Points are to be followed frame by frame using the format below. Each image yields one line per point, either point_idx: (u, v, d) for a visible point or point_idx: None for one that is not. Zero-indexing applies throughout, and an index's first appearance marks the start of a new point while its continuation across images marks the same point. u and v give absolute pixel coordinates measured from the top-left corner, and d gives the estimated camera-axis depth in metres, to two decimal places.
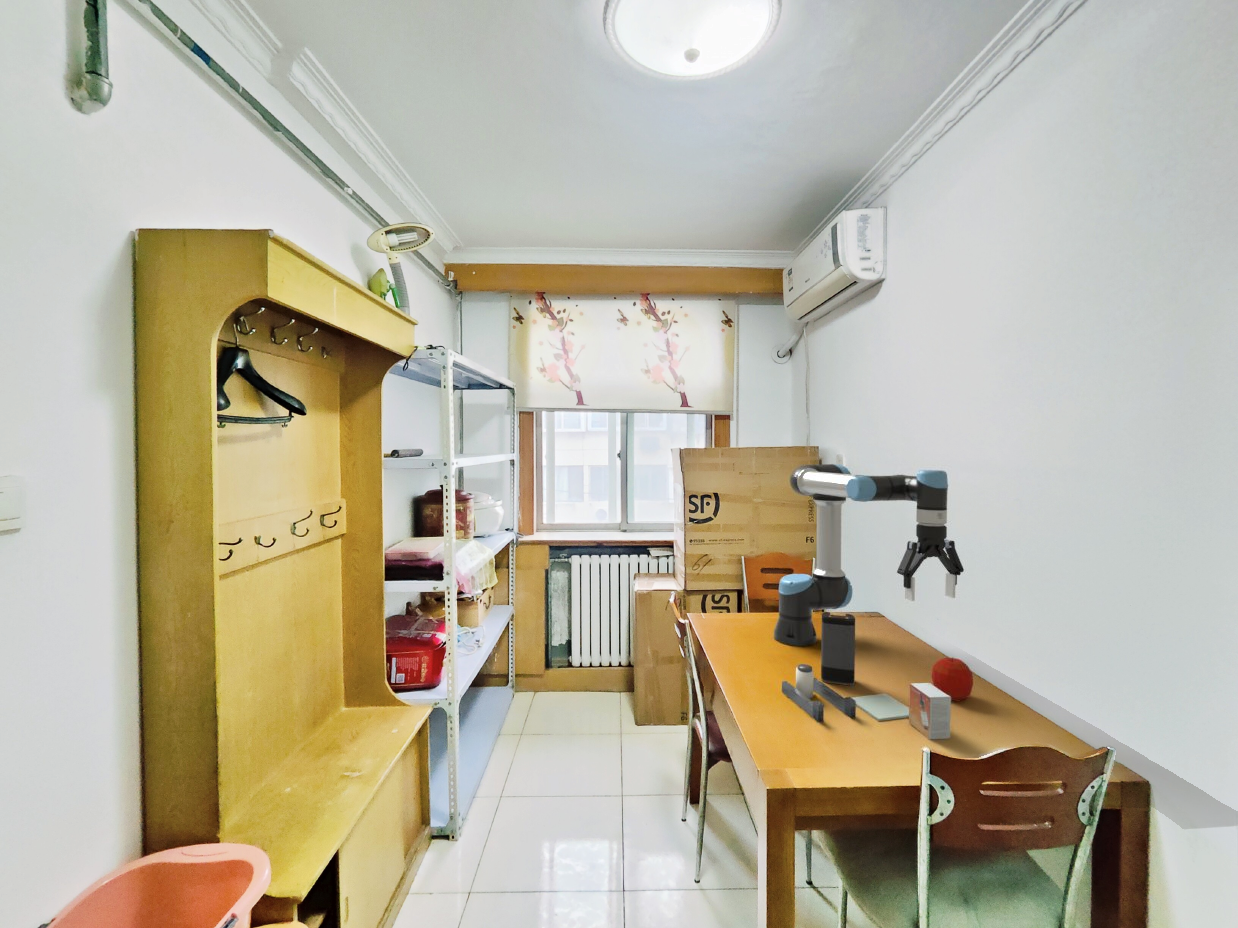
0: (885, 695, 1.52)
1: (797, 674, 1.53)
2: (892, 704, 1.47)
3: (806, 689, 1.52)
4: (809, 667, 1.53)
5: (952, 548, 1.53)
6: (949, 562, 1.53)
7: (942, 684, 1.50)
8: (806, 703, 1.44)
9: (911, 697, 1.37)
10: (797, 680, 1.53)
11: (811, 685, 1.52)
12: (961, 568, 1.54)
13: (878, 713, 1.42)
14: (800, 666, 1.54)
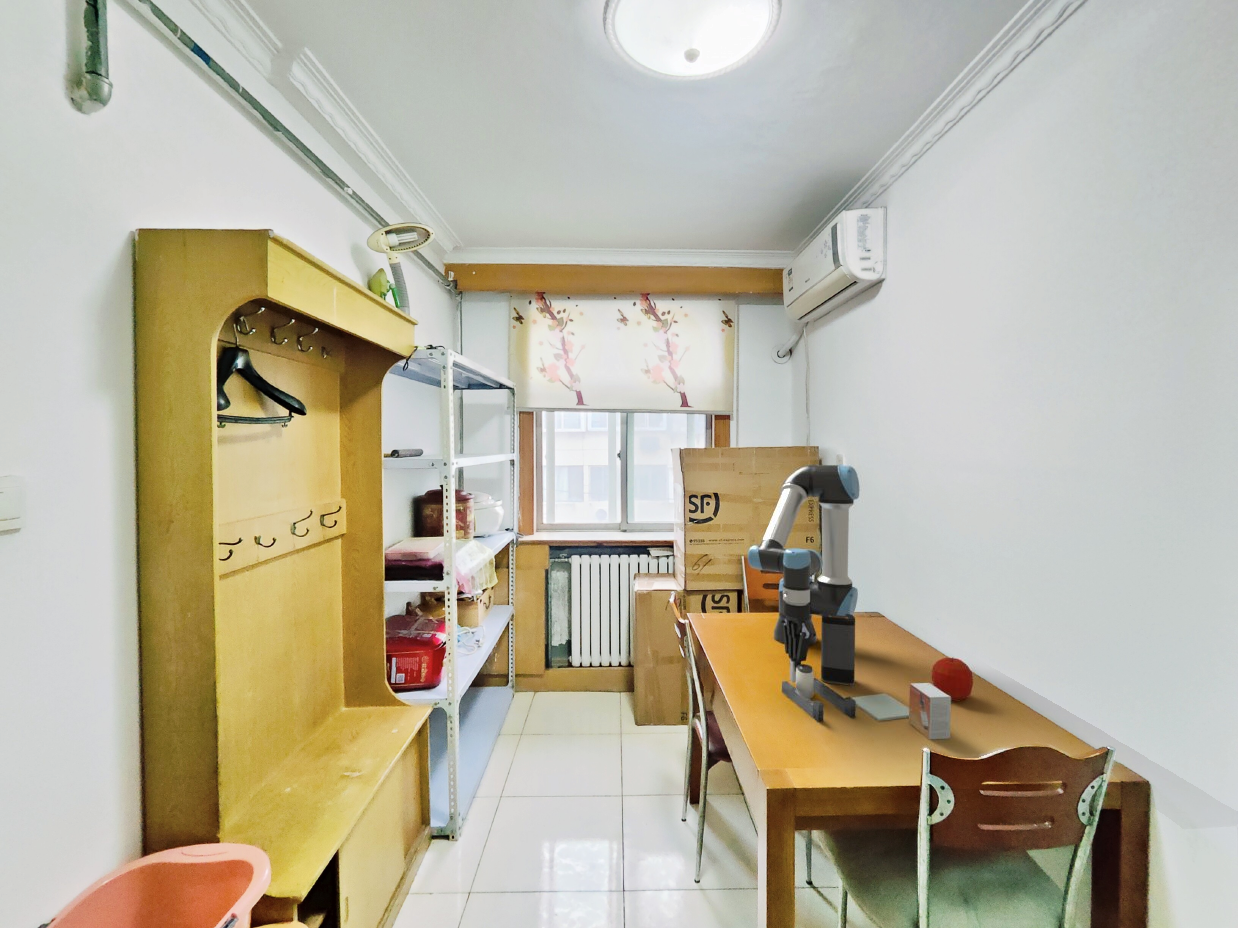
0: (885, 695, 1.52)
1: (797, 675, 1.53)
2: (892, 704, 1.47)
3: (806, 689, 1.52)
4: (809, 667, 1.53)
5: (800, 636, 1.53)
6: (794, 645, 1.57)
7: (942, 684, 1.50)
8: (806, 703, 1.44)
9: (911, 697, 1.37)
10: (797, 680, 1.53)
11: (811, 685, 1.52)
12: (797, 657, 1.55)
13: (878, 713, 1.42)
14: (800, 666, 1.54)
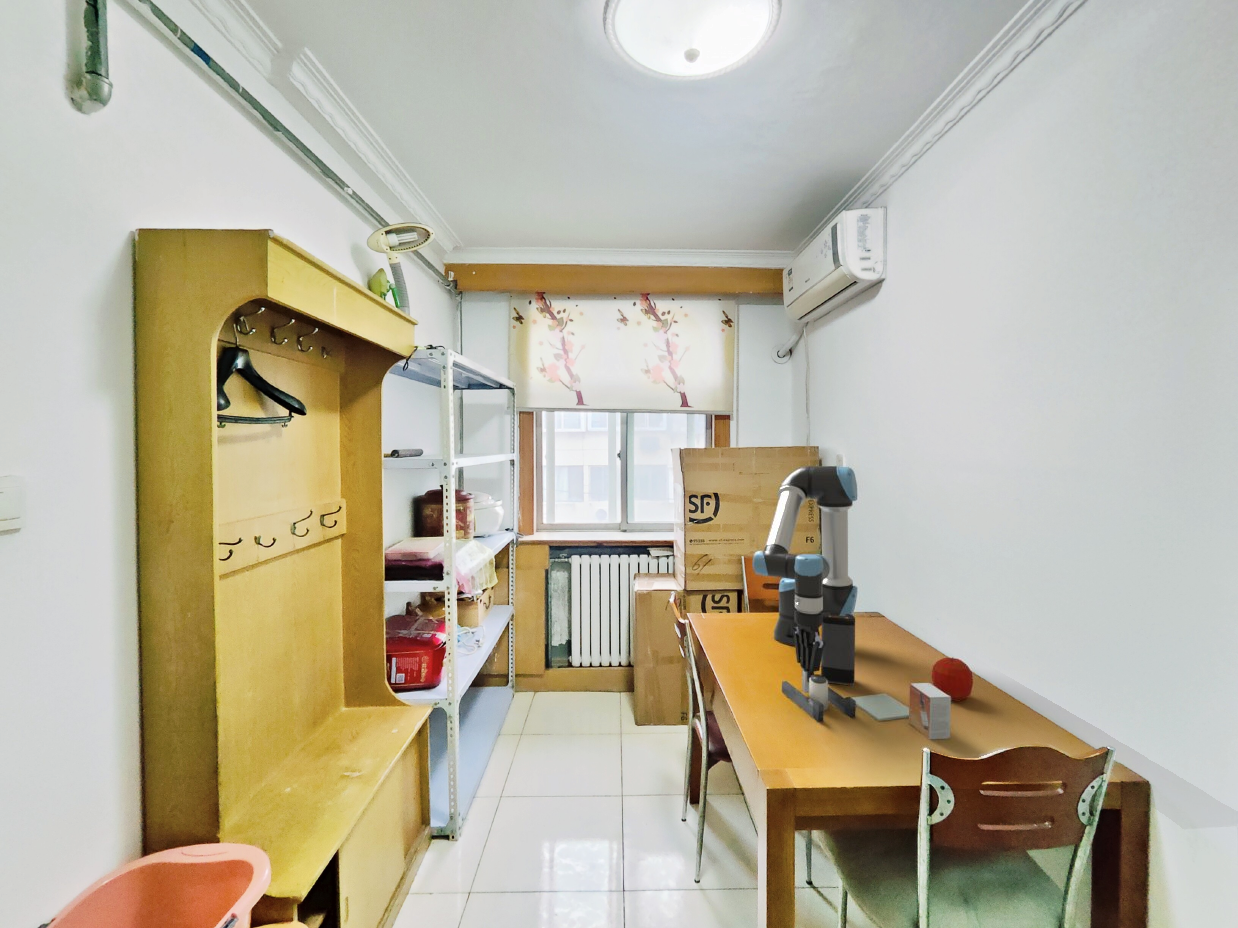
0: (885, 695, 1.52)
1: (811, 685, 1.46)
2: (892, 704, 1.47)
3: (820, 700, 1.45)
4: (823, 678, 1.46)
5: (814, 646, 1.48)
6: (807, 655, 1.51)
7: (942, 684, 1.50)
8: (806, 703, 1.44)
9: (911, 697, 1.37)
10: (811, 691, 1.46)
11: (825, 697, 1.45)
12: (810, 667, 1.49)
13: (878, 713, 1.42)
14: (813, 677, 1.47)
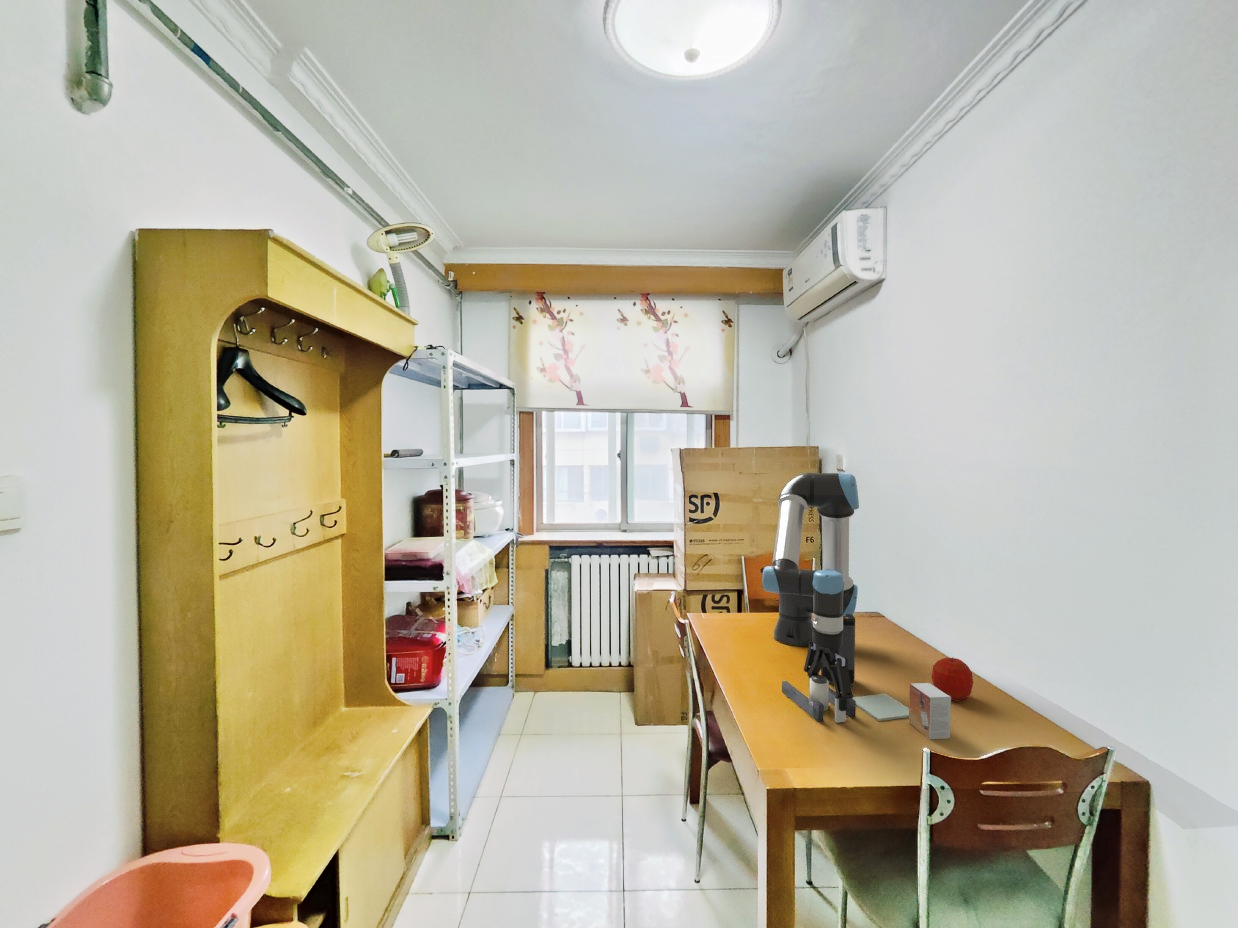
0: (885, 695, 1.52)
1: (811, 685, 1.46)
2: (892, 704, 1.47)
3: (820, 701, 1.44)
4: (824, 678, 1.46)
5: (837, 666, 1.37)
6: (833, 679, 1.39)
7: (942, 684, 1.50)
8: (806, 703, 1.44)
9: (911, 697, 1.37)
10: (811, 691, 1.46)
11: (826, 697, 1.45)
12: (842, 694, 1.35)
13: (878, 713, 1.42)
14: (814, 677, 1.47)
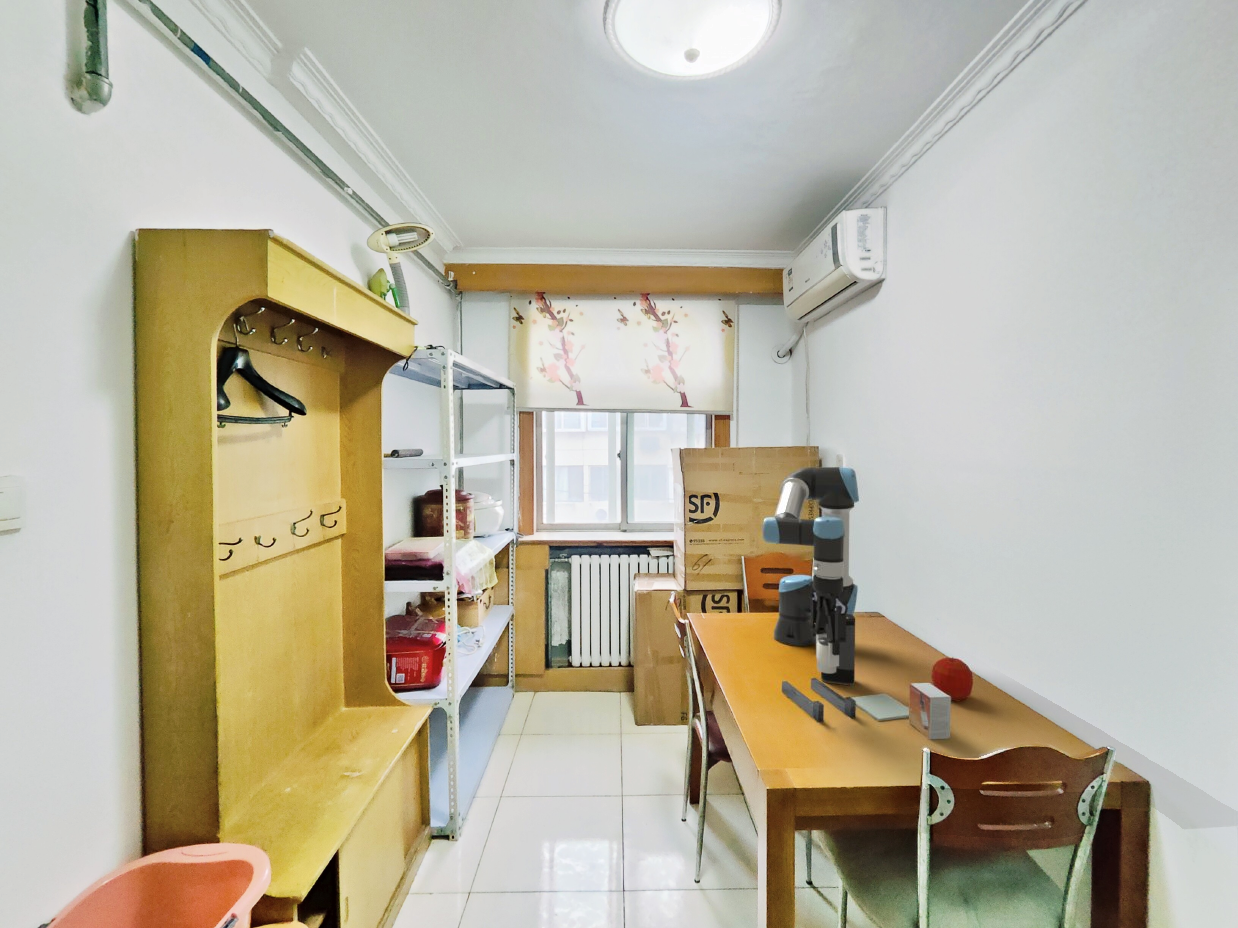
0: (885, 695, 1.52)
1: (818, 648, 1.43)
2: (892, 704, 1.47)
3: None
4: None
5: (836, 612, 1.38)
6: (830, 624, 1.40)
7: (942, 684, 1.50)
8: (806, 703, 1.44)
9: (911, 697, 1.37)
10: (818, 654, 1.43)
11: None
12: (836, 638, 1.38)
13: (878, 713, 1.42)
14: (822, 639, 1.44)
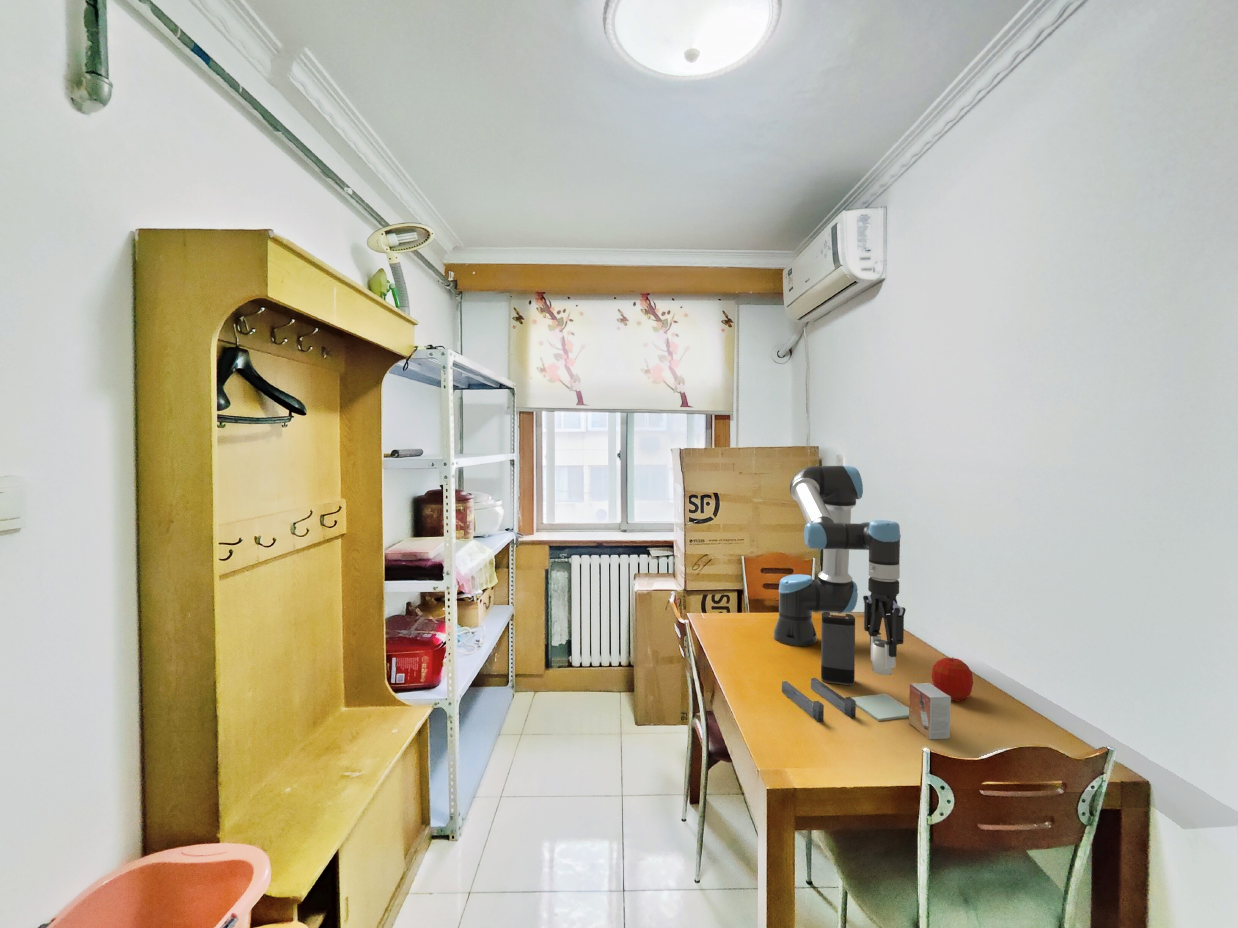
0: (885, 695, 1.52)
1: (874, 649, 1.45)
2: (892, 704, 1.47)
3: (884, 665, 1.43)
4: None
5: (893, 614, 1.40)
6: (886, 626, 1.43)
7: (942, 684, 1.50)
8: (806, 703, 1.44)
9: (911, 697, 1.37)
10: (874, 656, 1.45)
11: None
12: (893, 640, 1.40)
13: (878, 713, 1.42)
14: (877, 641, 1.46)
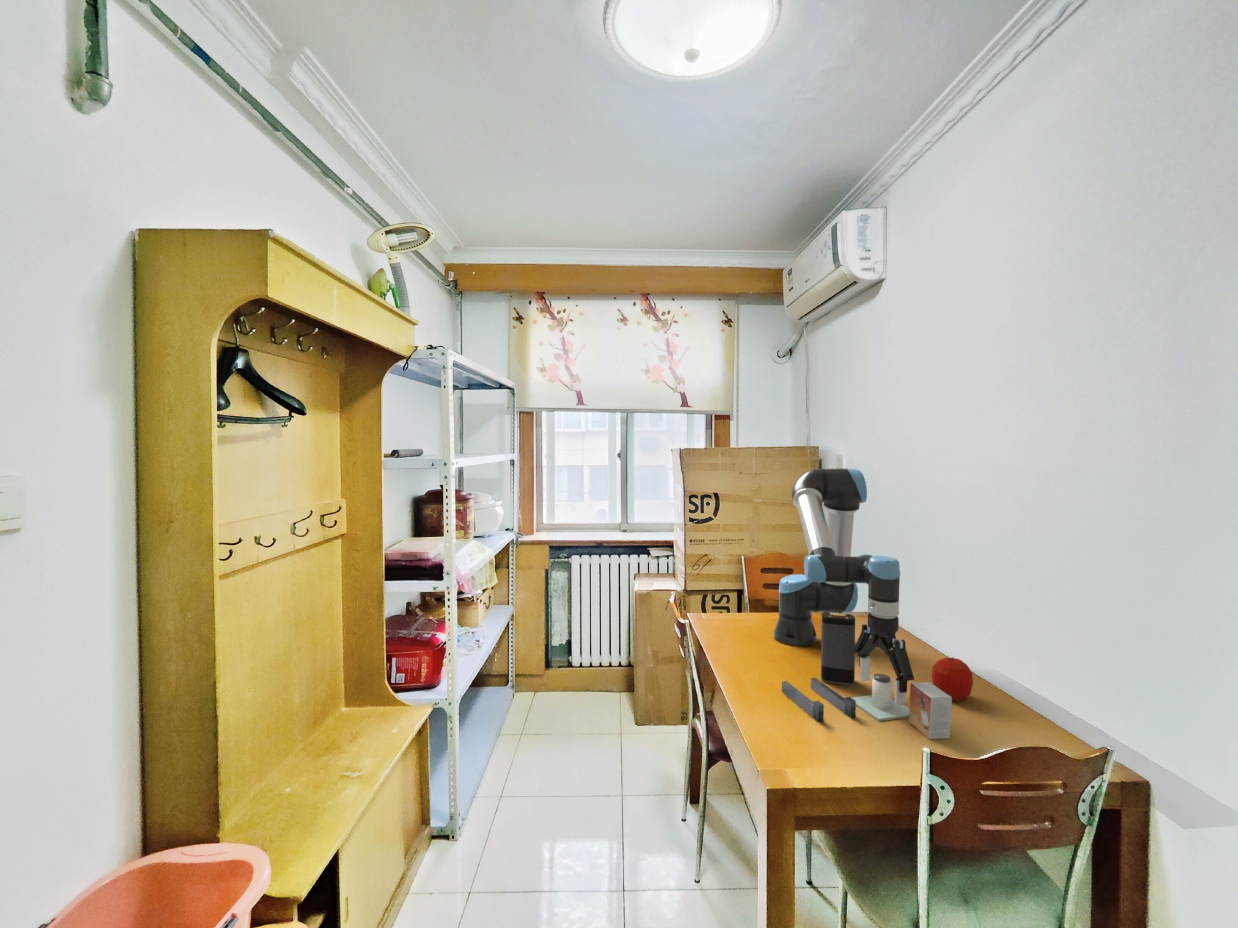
0: None
1: (874, 684, 1.45)
2: (892, 704, 1.47)
3: (884, 700, 1.44)
4: (887, 677, 1.45)
5: (895, 648, 1.40)
6: (892, 662, 1.41)
7: (942, 684, 1.50)
8: (806, 703, 1.44)
9: (911, 696, 1.37)
10: (874, 691, 1.45)
11: (889, 696, 1.44)
12: (903, 676, 1.37)
13: (878, 713, 1.42)
14: (877, 676, 1.46)
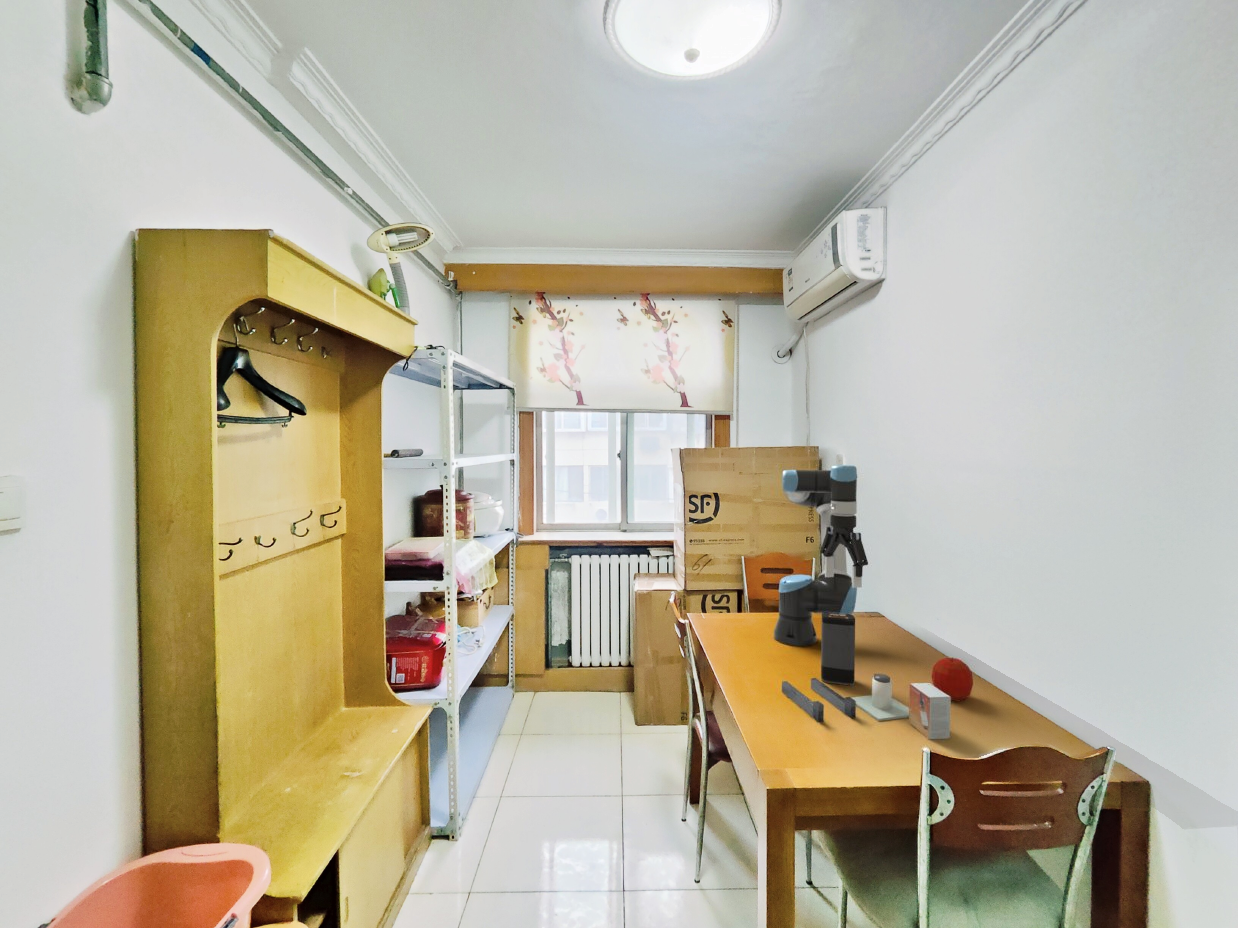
0: None
1: (874, 684, 1.45)
2: (892, 704, 1.47)
3: (884, 700, 1.44)
4: (887, 677, 1.45)
5: (852, 540, 1.62)
6: (850, 552, 1.63)
7: (942, 684, 1.50)
8: (806, 703, 1.44)
9: (911, 697, 1.37)
10: (874, 691, 1.45)
11: (889, 696, 1.44)
12: (859, 561, 1.59)
13: (878, 713, 1.42)
14: (877, 676, 1.46)
